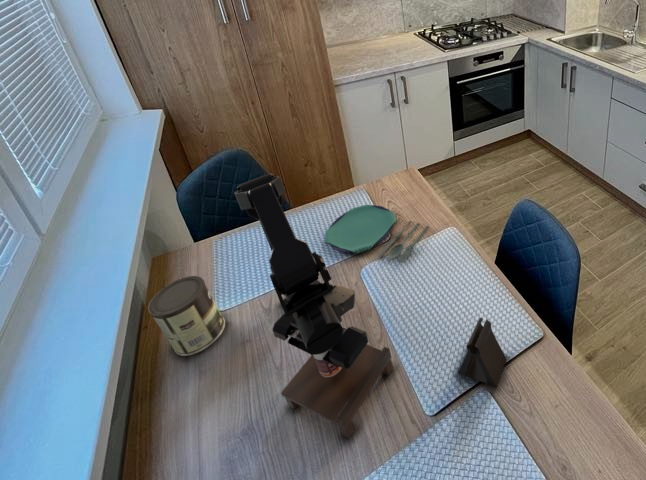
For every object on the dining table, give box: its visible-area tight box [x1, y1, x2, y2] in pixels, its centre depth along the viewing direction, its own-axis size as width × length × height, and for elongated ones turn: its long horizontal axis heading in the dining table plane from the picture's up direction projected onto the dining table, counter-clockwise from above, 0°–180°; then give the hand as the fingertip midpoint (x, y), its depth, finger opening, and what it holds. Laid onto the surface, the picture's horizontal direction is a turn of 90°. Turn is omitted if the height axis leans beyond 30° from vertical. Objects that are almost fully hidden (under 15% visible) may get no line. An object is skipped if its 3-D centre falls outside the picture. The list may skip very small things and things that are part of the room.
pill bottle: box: [313, 350, 342, 377], centre depth 81 cm, size 5×5×8 cm
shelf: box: [280, 343, 394, 440], centre depth 84 cm, size 16×14×7 cm
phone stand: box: [457, 317, 507, 388], centre depth 85 cm, size 9×6×12 cm, turn 70°
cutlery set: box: [324, 204, 430, 264], centre depth 123 cm, size 20×30×2 cm, turn 67°
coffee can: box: [147, 275, 226, 357], centre depth 94 cm, size 10×10×14 cm
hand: (329, 360), depth 82 cm, fingers closed on pill bottle, 5 cm apart
